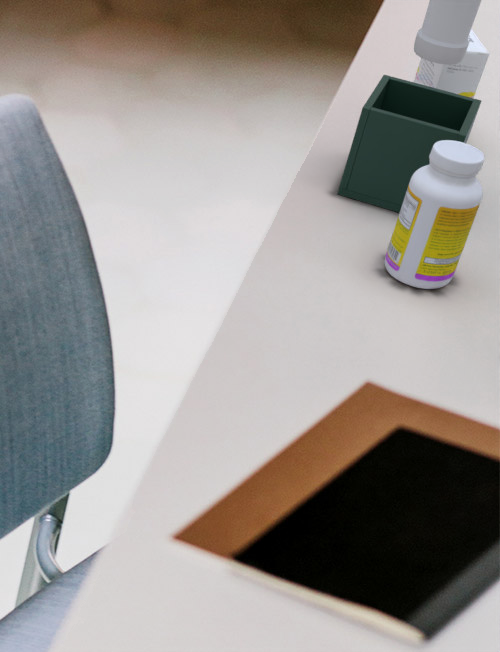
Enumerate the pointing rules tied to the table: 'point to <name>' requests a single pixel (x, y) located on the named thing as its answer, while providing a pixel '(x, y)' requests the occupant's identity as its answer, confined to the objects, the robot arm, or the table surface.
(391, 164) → the bin
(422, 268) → the supplement bottle
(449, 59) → the bottle
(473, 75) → the ink box
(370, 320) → the table surface
